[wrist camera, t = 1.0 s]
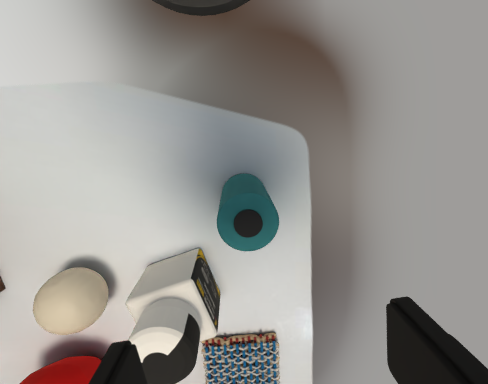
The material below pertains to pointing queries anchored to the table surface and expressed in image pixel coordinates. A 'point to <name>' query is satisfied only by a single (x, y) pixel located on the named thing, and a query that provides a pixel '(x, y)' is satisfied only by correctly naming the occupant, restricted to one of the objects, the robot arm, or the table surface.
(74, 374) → the tomato
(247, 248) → the teal cylinder
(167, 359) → the medicine bottle
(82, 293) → the cream round ball
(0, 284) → the rack
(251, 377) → the woven mat
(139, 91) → the table surface
